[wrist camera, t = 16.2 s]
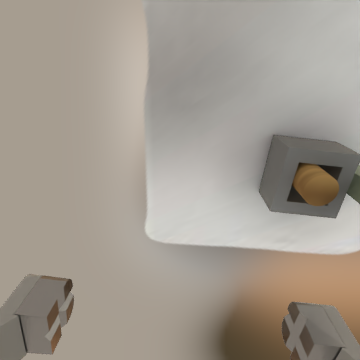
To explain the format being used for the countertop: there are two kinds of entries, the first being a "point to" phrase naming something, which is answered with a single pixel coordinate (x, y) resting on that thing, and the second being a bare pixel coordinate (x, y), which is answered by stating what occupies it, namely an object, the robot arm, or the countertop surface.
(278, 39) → the countertop surface
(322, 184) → the peg
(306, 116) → the countertop surface
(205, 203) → the countertop surface
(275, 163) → the socket
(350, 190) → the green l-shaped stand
